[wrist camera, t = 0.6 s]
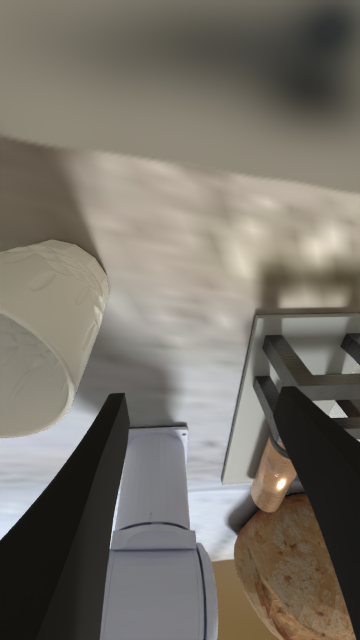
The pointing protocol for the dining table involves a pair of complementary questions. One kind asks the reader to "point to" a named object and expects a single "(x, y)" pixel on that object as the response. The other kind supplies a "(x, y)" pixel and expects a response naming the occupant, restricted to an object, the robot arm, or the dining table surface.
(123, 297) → the dining table surface
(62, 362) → the white cup
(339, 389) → the collar
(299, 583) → the bread
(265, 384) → the dark gray arch
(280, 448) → the copper tube
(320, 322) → the pale gray board
